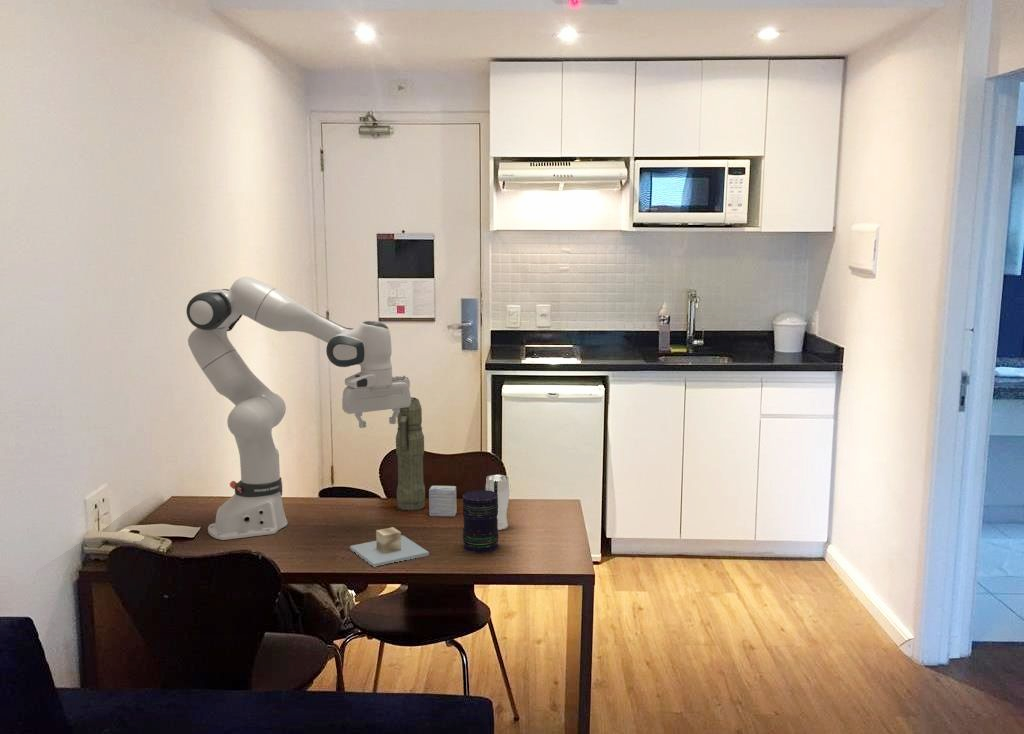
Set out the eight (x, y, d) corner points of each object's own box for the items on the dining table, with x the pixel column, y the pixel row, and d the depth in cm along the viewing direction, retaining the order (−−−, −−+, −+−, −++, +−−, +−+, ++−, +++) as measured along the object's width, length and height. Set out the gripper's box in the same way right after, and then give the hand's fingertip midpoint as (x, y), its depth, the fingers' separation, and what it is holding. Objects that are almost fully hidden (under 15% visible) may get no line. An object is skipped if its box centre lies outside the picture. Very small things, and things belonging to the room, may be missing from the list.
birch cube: (384, 553, 237) (383, 535, 236) (376, 548, 241) (376, 530, 240) (401, 549, 239) (400, 532, 239) (393, 544, 243) (392, 527, 243)
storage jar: (462, 541, 249) (462, 490, 247) (497, 540, 249) (497, 489, 247) (462, 554, 239) (462, 500, 237) (499, 553, 240) (498, 500, 237)
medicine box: (456, 512, 274) (456, 485, 273) (454, 517, 270) (454, 489, 269) (431, 512, 275) (431, 485, 274) (429, 516, 271) (428, 489, 270)
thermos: (392, 512, 275) (390, 402, 269) (402, 501, 286) (399, 395, 281) (420, 513, 274) (418, 402, 268) (428, 502, 285) (427, 395, 280)
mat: (374, 567, 229) (374, 564, 229) (350, 549, 243) (350, 545, 242) (428, 555, 238) (428, 552, 238) (402, 538, 251) (402, 535, 251)
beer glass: (488, 531, 257) (487, 481, 255) (483, 523, 264) (483, 475, 262) (511, 529, 258) (511, 480, 256) (506, 522, 265) (506, 473, 263)
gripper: (404, 373, 261) (405, 419, 263) (339, 379, 250) (340, 427, 252) (414, 376, 255) (415, 423, 257) (347, 382, 244) (349, 431, 247)
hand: (377, 425), depth 255 cm, fingers open, 8 cm apart
